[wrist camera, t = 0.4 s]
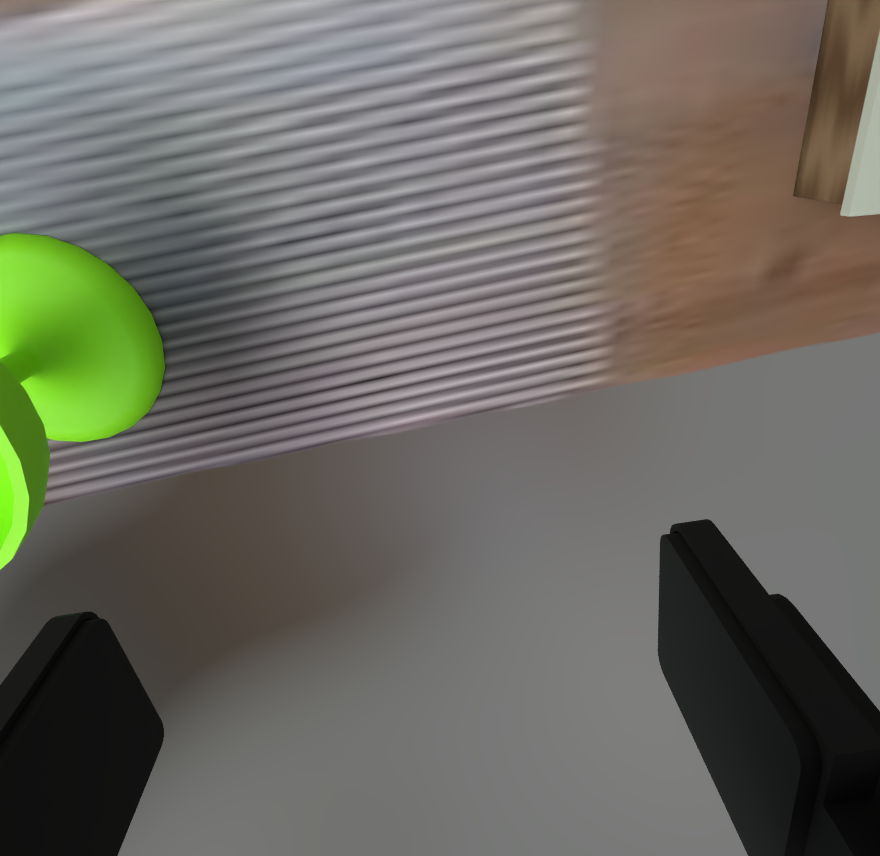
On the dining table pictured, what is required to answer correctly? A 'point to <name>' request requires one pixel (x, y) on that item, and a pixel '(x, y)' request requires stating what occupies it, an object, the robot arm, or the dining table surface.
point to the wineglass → (64, 365)
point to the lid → (866, 153)
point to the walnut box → (837, 98)
